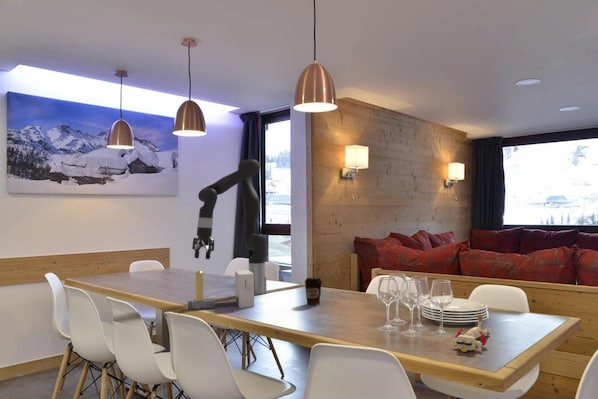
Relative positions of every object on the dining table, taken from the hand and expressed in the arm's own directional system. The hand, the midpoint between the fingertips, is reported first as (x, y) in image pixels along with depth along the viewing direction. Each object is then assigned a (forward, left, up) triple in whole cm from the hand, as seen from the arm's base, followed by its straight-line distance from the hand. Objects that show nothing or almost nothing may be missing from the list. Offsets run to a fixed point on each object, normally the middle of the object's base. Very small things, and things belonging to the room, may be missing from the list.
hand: (202, 258), depth 237 cm
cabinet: (-20, +11, -23) cm, 32 cm away
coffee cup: (-52, +24, -23) cm, 61 cm away
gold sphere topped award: (0, +11, -22) cm, 25 cm away
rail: (-5, +11, -23) cm, 26 cm away
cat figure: (-82, +106, -23) cm, 135 cm away
